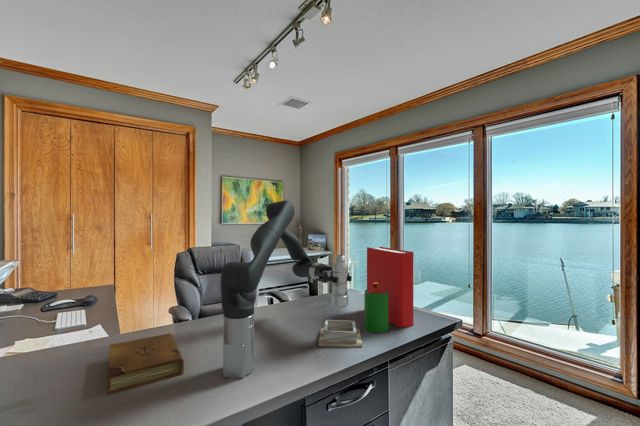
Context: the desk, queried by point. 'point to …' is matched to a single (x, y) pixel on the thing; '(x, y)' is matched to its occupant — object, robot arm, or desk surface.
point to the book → (393, 281)
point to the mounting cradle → (340, 334)
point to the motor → (376, 310)
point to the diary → (143, 362)
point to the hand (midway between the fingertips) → (343, 279)
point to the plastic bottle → (340, 282)
